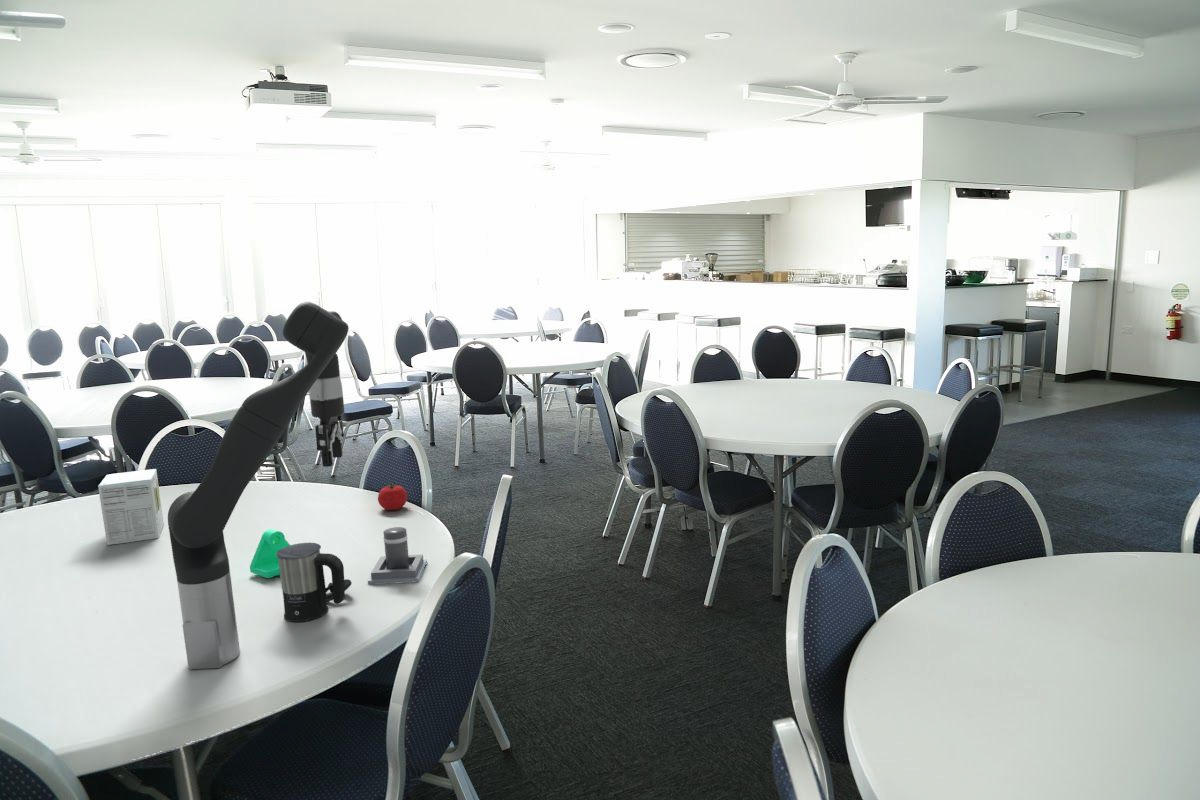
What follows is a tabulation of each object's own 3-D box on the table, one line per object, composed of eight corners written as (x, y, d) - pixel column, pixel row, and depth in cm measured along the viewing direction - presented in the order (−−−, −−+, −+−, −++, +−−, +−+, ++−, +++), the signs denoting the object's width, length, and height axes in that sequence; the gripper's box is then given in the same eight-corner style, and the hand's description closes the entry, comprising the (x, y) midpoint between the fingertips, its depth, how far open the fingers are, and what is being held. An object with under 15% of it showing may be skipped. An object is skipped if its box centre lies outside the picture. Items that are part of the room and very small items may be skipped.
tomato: (378, 506, 253) (375, 481, 251) (407, 503, 255) (405, 478, 254) (379, 515, 245) (377, 489, 243) (409, 511, 247) (407, 486, 246)
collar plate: (418, 581, 194) (417, 571, 193) (367, 584, 193) (366, 574, 193) (427, 562, 205) (426, 553, 205) (379, 565, 205) (378, 555, 205)
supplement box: (159, 538, 231) (151, 479, 228) (106, 546, 227) (97, 485, 223) (165, 524, 243) (157, 468, 240) (114, 531, 239) (106, 474, 235)
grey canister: (407, 573, 197) (404, 534, 195) (384, 574, 196) (380, 535, 195) (412, 564, 202) (408, 526, 200) (389, 565, 202) (385, 527, 200)
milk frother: (280, 625, 173) (272, 559, 171) (290, 595, 188) (283, 535, 186) (349, 616, 176) (343, 551, 174) (353, 587, 192) (347, 527, 189)
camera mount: (268, 582, 197) (263, 542, 195) (251, 576, 201) (246, 536, 200) (311, 566, 206) (307, 527, 204) (294, 560, 211) (289, 522, 209)
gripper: (319, 391, 201) (325, 455, 204) (300, 401, 187) (308, 470, 190) (350, 390, 201) (356, 453, 204) (333, 400, 187) (340, 468, 190)
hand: (332, 461), depth 197 cm, fingers open, 8 cm apart
